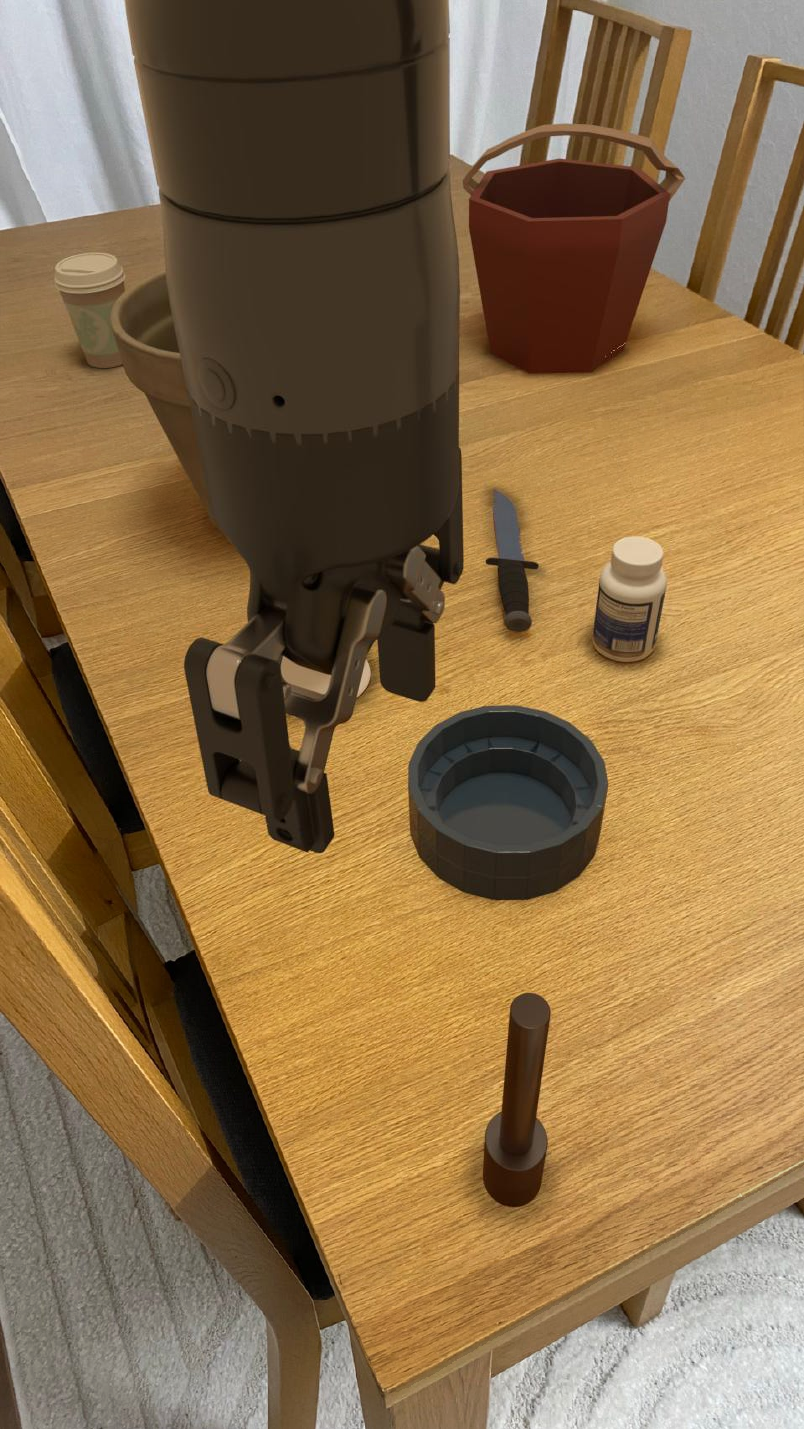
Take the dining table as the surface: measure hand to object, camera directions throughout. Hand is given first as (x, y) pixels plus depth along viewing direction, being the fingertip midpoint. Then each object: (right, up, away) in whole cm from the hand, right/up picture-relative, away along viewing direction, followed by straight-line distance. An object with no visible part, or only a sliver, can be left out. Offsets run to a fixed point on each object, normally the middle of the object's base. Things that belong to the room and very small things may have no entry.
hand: (360, 760), depth 38 cm
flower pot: (-11, +23, +65) cm, 69 cm away
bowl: (+9, -7, +33) cm, 35 cm away
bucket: (+21, +49, +89) cm, 103 cm away
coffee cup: (-36, +48, +91) cm, 109 cm away
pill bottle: (+21, +8, +47) cm, 52 cm away
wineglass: (-5, +5, +46) cm, 46 cm away
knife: (+12, +17, +57) cm, 60 cm away
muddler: (+8, -23, +16) cm, 29 cm away
